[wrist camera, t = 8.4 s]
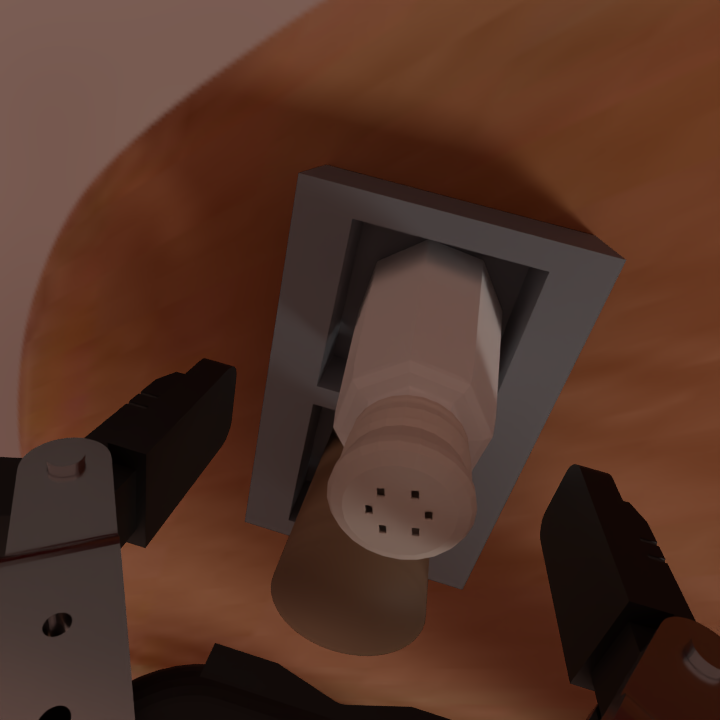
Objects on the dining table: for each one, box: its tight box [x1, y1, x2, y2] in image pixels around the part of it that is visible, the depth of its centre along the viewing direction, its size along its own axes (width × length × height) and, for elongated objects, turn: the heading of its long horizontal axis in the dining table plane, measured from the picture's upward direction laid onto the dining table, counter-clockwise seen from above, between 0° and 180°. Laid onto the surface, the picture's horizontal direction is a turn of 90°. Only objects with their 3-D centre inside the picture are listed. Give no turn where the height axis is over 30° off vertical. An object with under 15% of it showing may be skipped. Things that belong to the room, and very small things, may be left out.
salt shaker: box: [327, 239, 502, 560], centre depth 14 cm, size 5×5×11 cm
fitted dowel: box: [271, 428, 429, 656], centre depth 18 cm, size 5×5×8 cm
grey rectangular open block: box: [245, 165, 626, 589], centre depth 19 cm, size 15×10×4 cm, turn 167°
